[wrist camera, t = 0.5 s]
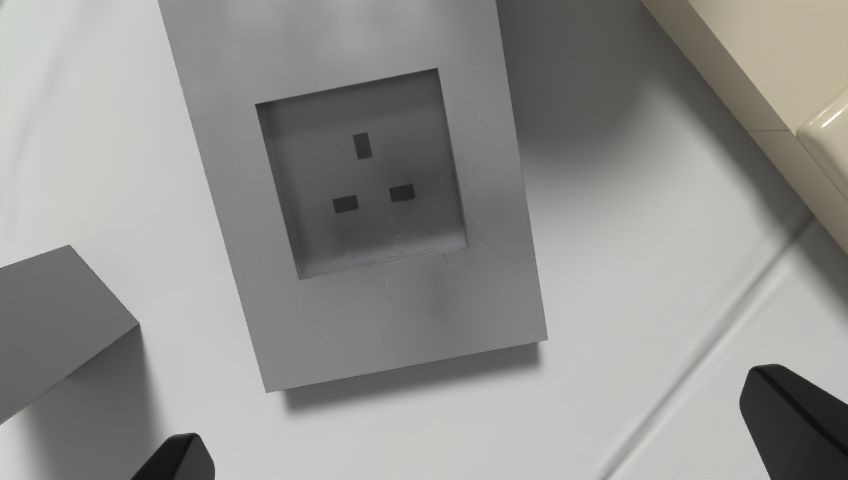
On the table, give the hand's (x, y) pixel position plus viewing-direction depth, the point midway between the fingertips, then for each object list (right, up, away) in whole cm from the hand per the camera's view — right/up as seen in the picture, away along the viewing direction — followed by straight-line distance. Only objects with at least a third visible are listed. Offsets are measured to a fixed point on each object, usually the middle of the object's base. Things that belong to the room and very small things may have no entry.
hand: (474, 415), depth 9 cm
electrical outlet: (+17, +9, +15) cm, 24 cm away
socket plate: (-3, +6, +14) cm, 16 cm away
